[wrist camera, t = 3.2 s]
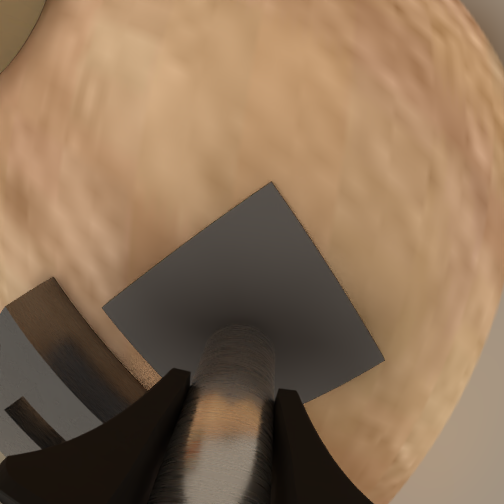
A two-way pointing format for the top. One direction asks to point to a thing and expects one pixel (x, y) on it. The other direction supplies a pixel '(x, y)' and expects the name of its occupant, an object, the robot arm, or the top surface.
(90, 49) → the top surface
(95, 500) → the robot arm
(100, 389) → the block
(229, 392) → the steel pin
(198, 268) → the rubber mat
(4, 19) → the reusable coffee cup
